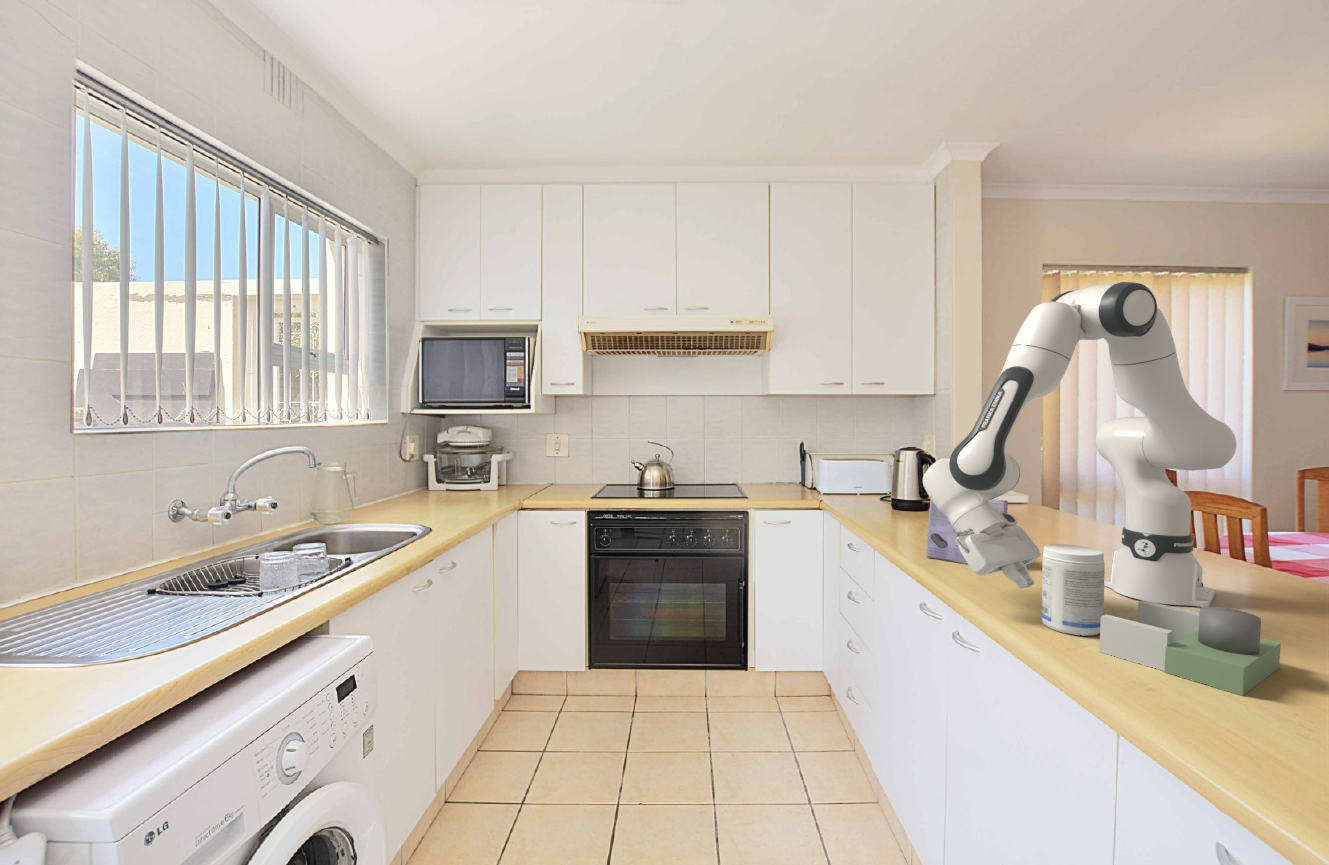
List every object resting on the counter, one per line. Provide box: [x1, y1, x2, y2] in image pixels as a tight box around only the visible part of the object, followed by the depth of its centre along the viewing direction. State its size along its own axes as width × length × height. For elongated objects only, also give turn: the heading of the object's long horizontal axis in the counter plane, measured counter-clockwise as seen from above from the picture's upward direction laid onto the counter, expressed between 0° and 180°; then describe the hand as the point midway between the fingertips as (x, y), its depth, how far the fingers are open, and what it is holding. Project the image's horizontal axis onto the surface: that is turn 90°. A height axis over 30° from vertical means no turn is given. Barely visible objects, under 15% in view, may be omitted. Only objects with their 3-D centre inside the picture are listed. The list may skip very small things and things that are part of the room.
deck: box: [1098, 600, 1282, 697], centre depth 100 cm, size 18×18×9 cm
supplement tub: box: [1041, 543, 1106, 637], centre depth 114 cm, size 10×10×15 cm
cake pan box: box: [925, 498, 1009, 565], centre depth 162 cm, size 19×5×18 cm, turn 51°
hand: (1028, 586), depth 120 cm, fingers closed
